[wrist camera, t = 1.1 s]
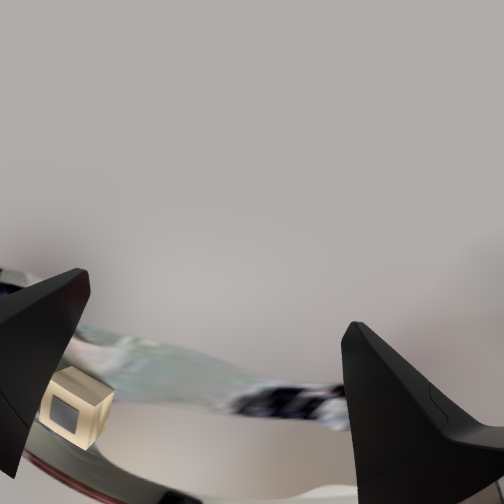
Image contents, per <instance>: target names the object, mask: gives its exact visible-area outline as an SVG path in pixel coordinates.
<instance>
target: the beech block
mask: <svg viewBox="0 0 504 504" xmlns="http://www.w3.org/2000/svg"><path fill="white" fill-rule="evenodd" d="M114 393H115V390H114V389H112V388H110V387H108V386H106V385H104V384H103V383H101V382H99V381H97V380H95V379H94V378H92V377H90V376H88V375H87V374H85V373H83V372H81V371H80V370H78V369H76V368H75V367H73V366H70V367H68V368H65V369H62V370H60V371H57V372H55V373H54V374H53V376H52V378H51V380H50V382H49V385H48V387H47V389H46V391H45V394H44V396H43V398H42V402H41V410H40V419H39V421H40V422H42V423H43V424H45V425H46V426H47V427H49V428H50V429H52V430H53V431H55V432H56V433H58V434H59V435H61V436H62V437H64V438H65V439H67V440H69V441H70V442H72V443H74V444H75V445H77V446H79V447H80V448H82V449H84V450H87V449H88V448H89V447H90V446H91V444H92V443H93V442H94V441H95V440H96V439H97V438H98V437H99V436H100V435H101V434H102V432H103V431H104V430H105V428H106V424H107V420H108V416H109V413H110V409H111V405H112V401H113V397H114Z"/></svg>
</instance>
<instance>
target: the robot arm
mask: <svg viewBox="0 0 504 504" xmlns="http://www.w3.org/2000/svg"><path fill="white" fill-rule="evenodd" d="M90 291H91V290H90V282H89V274H88V272H87V270H84V269H80V268H75V269H72V270H70V271H67V272H65V273H62V274H59V275H57V276H54V277H52V278H49V279H47V280H44V281H42V282H39V283H37V284H34V285H32V286H29V287H27V288H24V289H22V290H19V291H17V292H15V293H12V294H10V295H8V296H5V297H3V298H1V299H0V470H1V471H2V472H4V473H6V474H7V475H8V476H10V477H11V478H13V479H14V478H15V476H16V472H17V469H18V465H19V462H20V459H21V455H22V452H23V449H24V446H25V443H26V440H27V437H28V435H29V432H30V429H31V426H32V423H33V421H34V418H35V415H36V413H37V410H38V408H39V405H40V403H41V401H42V398H43V396H44V394H45V391H46V389H47V387H48V385H49V382H50V380H51V378H52V376H53V374H54V372H55V369H56V367H57V365H58V363H59V361H60V359H61V357H62V355H63V353H64V351H65V349H66V347H67V345H68V343H69V342H70V340H71V338H72V336H73V334H74V332H75V330H76V327H77V325H78V323H79V320H80V318H81V315H82V313H83V311H84V308H85V306H86V304H87V301H88V299H89V297H90ZM341 351H342V366H343V381H344V388H345V394H346V400H347V407H348V413H349V420H350V427H351V435H352V442H353V450H354V459H355V468H356V477H357V488H358V489H357V491H358V504H504V427H493V426H487V425H484V424H481V423H480V422H478V421H477V420H475V419H474V418H473V417H472V416H470V415H469V414H468V413H467V412H465V411H464V410H463V409H461V408H460V407H459V406H458V405H456V404H455V403H454V402H453V401H451V400H450V399H449V398H448V397H447V396H445V395H444V394H443V393H442V392H441V391H440V390H439V389H437V388H436V387H435V386H434V385H433V384H432V383H431V382H429V381H428V380H427V379H426V378H425V377H424V376H423V375H422V374H421V373H420V372H418V371H417V370H416V369H415V368H414V367H413V366H412V365H411V364H410V363H408V362H407V361H406V360H405V359H404V358H403V357H402V356H401V355H400V354H398V353H397V352H396V351H395V350H394V349H393V348H392V347H391V346H389V345H388V344H387V343H386V342H385V341H384V340H383V339H381V338H380V337H379V336H378V335H377V334H376V333H375V332H373V331H372V330H371V329H370V328H369V327H368V326H367V325H365V324H364V323H363V322H356V321H353V322H351V323H350V325H349V326H348V328H347V330H346V332H345V334H344V336H343V338H342V341H341ZM168 495H170V496H168ZM156 504H199V503H196V502H194V501H191V500H189V499H186V498H184V497H181V496H179V495H177V494H175V493H172V492H170V491H167V492H165V493H164V494H163V496H162V497H161V498H160V500H159V501H158V502H157V503H156Z"/></svg>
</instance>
